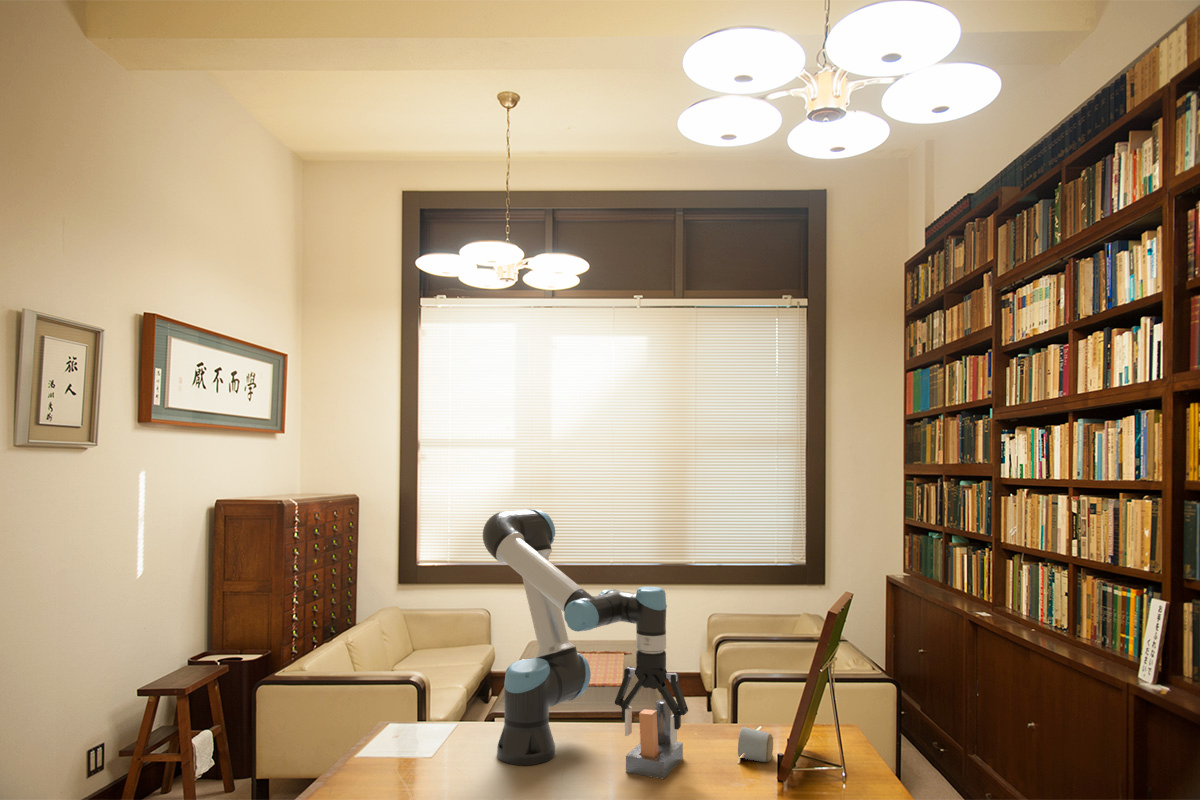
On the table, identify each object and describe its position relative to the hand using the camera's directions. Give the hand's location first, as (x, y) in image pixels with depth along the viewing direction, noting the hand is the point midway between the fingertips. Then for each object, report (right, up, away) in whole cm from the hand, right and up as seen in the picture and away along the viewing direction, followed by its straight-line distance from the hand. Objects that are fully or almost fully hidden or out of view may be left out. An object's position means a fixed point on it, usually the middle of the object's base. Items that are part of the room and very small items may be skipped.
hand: (650, 738), depth 199 cm
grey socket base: (+1, -8, +3) cm, 8 cm away
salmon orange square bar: (0, -8, 0) cm, 8 cm away
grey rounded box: (+28, -9, +8) cm, 30 cm away
